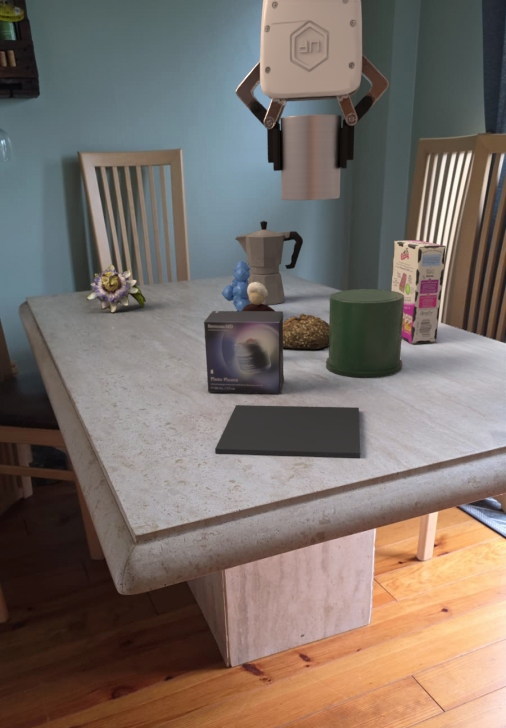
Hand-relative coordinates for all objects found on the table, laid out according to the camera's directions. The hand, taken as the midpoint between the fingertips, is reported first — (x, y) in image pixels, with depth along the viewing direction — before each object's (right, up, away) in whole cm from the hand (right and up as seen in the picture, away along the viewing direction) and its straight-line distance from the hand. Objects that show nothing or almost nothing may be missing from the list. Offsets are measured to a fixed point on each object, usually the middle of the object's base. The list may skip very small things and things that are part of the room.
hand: (310, 167), depth 67 cm
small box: (-7, -22, +23) cm, 32 cm away
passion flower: (-38, +2, +78) cm, 87 cm away
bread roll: (+2, -11, +45) cm, 47 cm away
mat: (-2, -28, +7) cm, 29 cm away
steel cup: (0, -3, +1) cm, 3 cm away
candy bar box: (+23, -10, +46) cm, 52 cm away
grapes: (-9, -4, +62) cm, 63 cm away
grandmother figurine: (-5, -16, +36) cm, 39 cm away
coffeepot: (-2, +4, +80) cm, 80 cm away
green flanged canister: (+11, -17, +30) cm, 37 cm away
